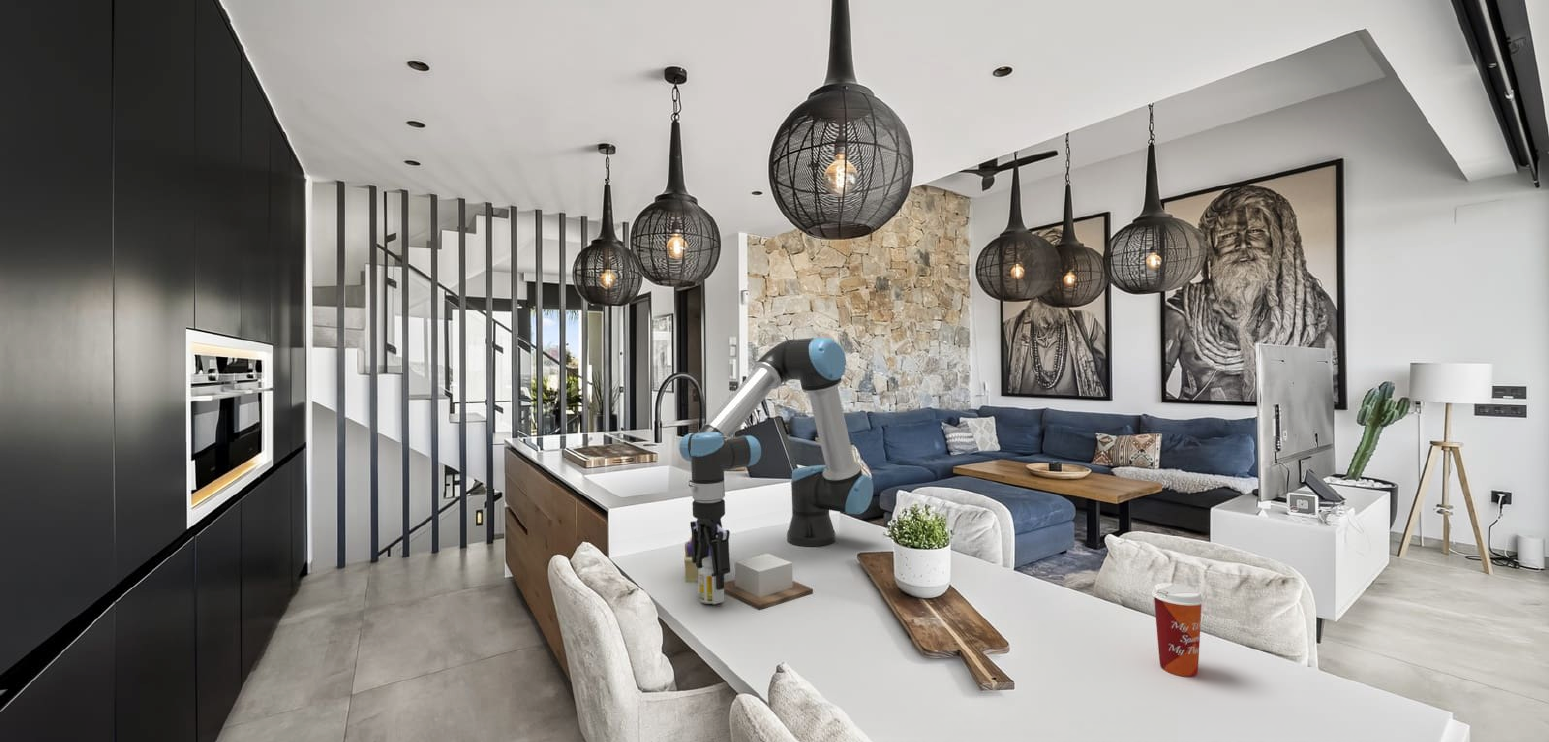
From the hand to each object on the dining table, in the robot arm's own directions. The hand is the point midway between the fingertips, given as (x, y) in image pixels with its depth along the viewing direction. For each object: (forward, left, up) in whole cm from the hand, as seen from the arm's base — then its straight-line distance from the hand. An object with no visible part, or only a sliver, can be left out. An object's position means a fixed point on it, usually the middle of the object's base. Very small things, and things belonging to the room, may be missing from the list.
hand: (711, 598), depth 146 cm
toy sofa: (-12, -21, -1) cm, 24 cm away
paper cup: (-46, +81, -1) cm, 93 cm away
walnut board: (-14, +2, -1) cm, 14 cm away
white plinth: (-14, +2, -1) cm, 14 cm away
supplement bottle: (0, 0, 0) cm, 0 cm away
